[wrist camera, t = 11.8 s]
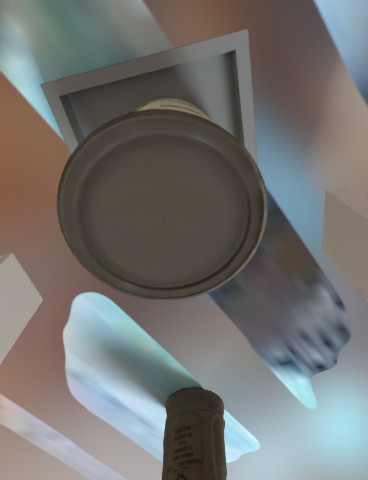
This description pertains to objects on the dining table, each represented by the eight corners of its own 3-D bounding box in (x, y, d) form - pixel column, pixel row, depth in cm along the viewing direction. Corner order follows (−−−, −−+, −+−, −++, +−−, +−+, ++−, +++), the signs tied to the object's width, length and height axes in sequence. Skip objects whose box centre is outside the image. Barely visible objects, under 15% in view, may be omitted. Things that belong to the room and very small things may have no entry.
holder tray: (239, 35, 21) (247, 28, 19) (254, 212, 29) (262, 223, 27) (55, 85, 22) (40, 84, 20) (118, 240, 30) (113, 253, 28)
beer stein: (151, 400, 48) (137, 576, 31) (197, 377, 45) (211, 560, 27) (201, 430, 54) (213, 590, 37) (245, 412, 51) (280, 578, 34)
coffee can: (136, 217, 28) (106, 316, 16) (98, 114, 23) (10, 145, 11) (230, 195, 27) (274, 283, 15) (212, 83, 22) (259, 77, 10)
